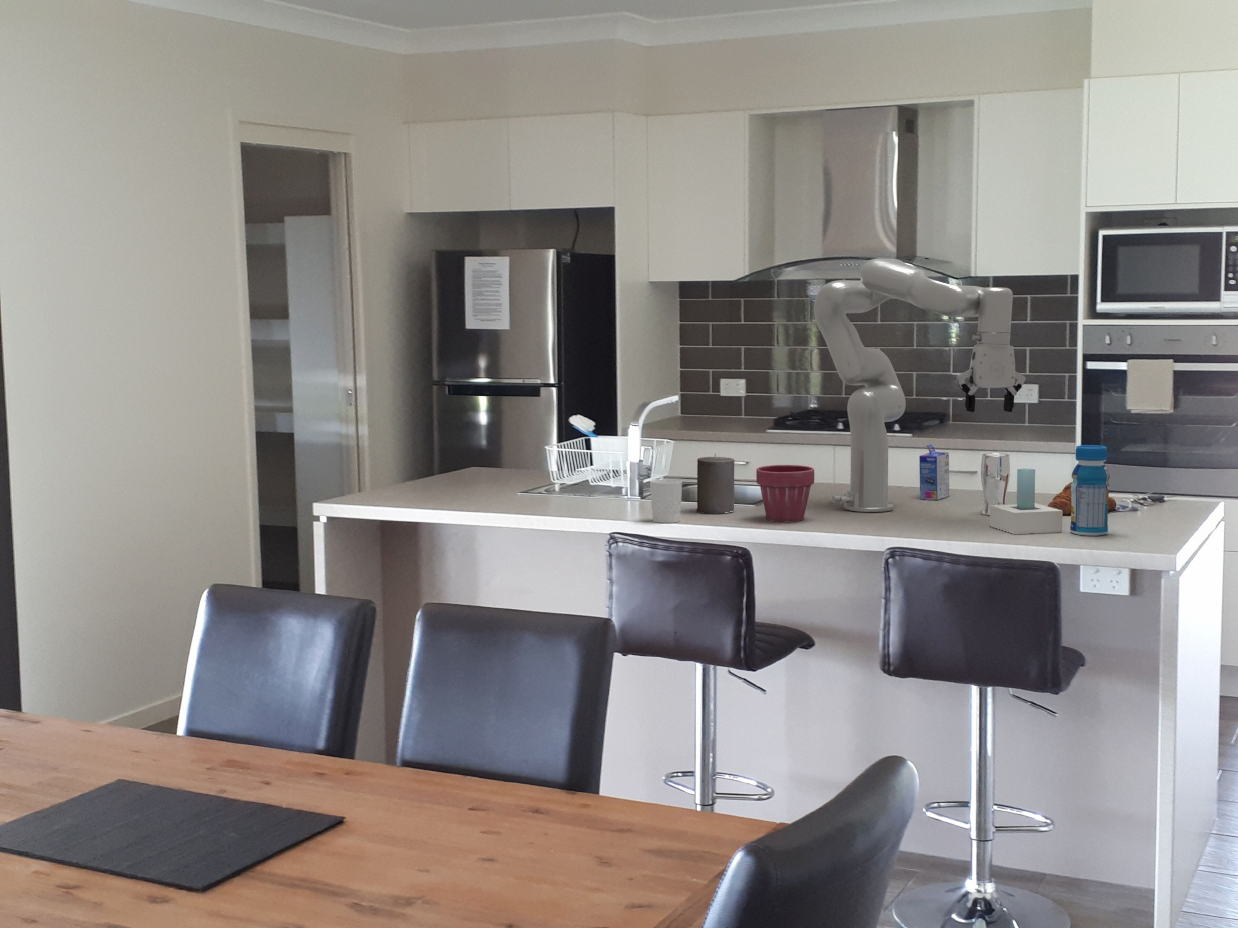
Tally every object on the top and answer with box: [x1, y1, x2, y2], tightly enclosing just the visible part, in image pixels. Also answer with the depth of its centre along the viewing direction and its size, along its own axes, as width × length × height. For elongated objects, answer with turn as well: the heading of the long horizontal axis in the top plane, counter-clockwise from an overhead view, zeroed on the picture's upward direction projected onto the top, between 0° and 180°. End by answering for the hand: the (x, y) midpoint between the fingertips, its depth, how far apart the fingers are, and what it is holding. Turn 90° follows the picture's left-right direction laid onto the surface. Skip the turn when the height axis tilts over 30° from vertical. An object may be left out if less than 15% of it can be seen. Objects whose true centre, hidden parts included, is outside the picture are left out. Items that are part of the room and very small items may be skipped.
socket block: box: [988, 502, 1064, 535], centre depth 311 cm, size 12×12×5 cm
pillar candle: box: [696, 453, 735, 515], centre depth 344 cm, size 10×10×15 cm
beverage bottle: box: [1069, 444, 1111, 537], centre depth 304 cm, size 8×8×20 cm
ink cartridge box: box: [918, 444, 950, 501], centre depth 364 cm, size 10×6×14 cm, turn 148°
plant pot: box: [755, 464, 815, 522], centre depth 330 cm, size 14×14×13 cm
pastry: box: [1047, 481, 1117, 516], centre depth 336 cm, size 17×15×8 cm
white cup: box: [649, 478, 683, 524], centre depth 329 cm, size 8×8×10 cm
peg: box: [1016, 468, 1036, 510], centre depth 311 cm, size 4×4×14 cm
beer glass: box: [980, 452, 1011, 516], centre depth 334 cm, size 7×7×15 cm
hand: (989, 411), depth 319 cm, fingers open, 9 cm apart
